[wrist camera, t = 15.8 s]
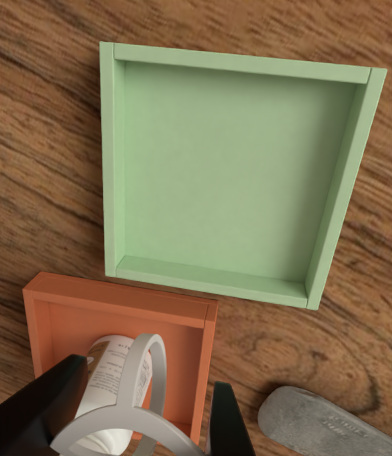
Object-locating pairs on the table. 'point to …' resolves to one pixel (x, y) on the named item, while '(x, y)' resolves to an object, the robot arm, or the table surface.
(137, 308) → the terracotta tray
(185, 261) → the sage tray
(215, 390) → the robot arm
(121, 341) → the pill bottle
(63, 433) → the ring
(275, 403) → the stone
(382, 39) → the table surface
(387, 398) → the table surface
